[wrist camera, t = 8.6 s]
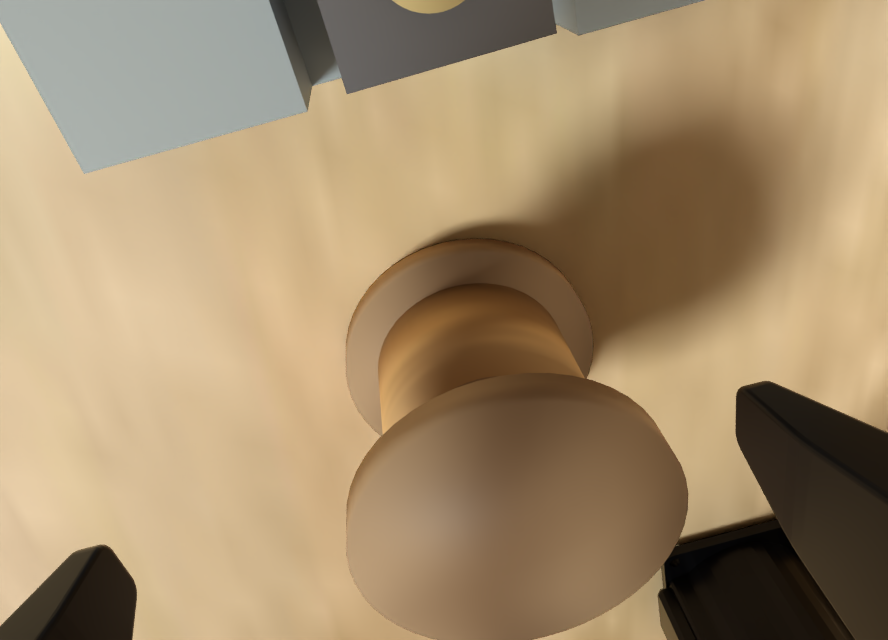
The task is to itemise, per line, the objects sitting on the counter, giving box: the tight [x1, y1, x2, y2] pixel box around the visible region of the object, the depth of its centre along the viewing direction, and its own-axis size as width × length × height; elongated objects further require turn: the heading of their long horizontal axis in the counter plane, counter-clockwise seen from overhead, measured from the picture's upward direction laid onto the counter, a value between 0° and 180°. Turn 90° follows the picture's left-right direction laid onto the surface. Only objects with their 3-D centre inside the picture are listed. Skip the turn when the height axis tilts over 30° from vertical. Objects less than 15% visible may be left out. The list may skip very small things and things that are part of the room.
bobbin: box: [346, 238, 688, 640], centre depth 19 cm, size 8×8×8 cm
